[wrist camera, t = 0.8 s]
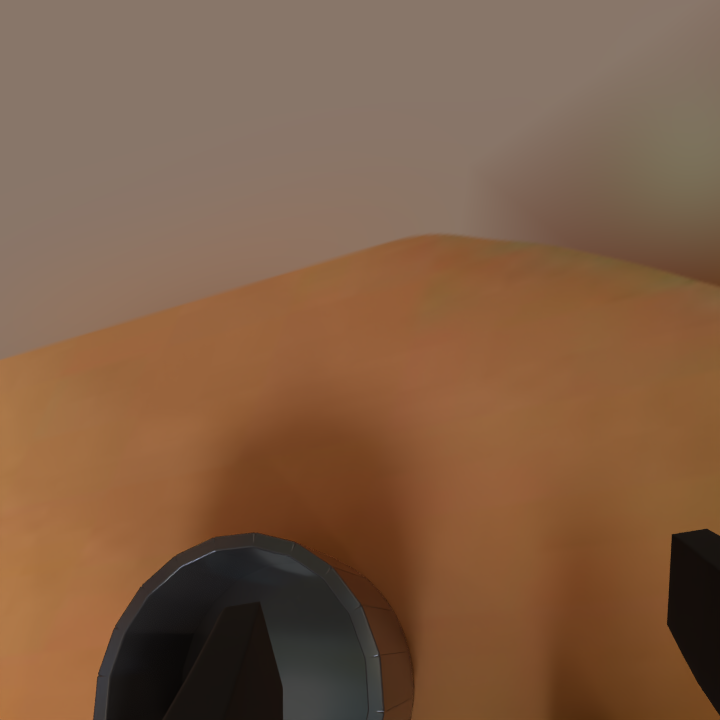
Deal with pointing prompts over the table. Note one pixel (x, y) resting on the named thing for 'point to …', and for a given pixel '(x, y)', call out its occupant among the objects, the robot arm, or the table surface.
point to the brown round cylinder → (285, 627)
